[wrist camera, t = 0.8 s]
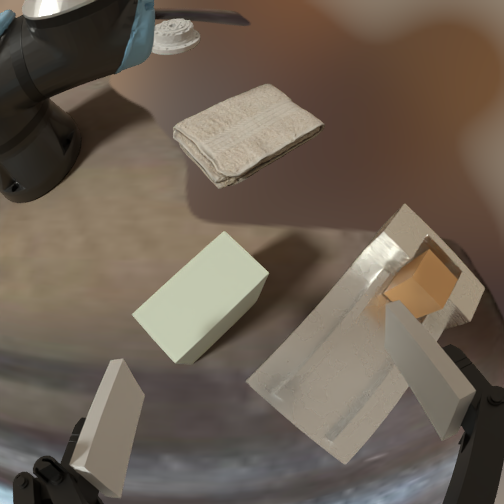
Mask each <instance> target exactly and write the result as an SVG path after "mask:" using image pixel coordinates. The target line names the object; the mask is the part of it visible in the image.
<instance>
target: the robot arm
mask: <svg viewBox="0 0 504 504" xmlns="http://www.w3.org/2000/svg"><path fill="white" fill-rule="evenodd" d="M153 6H154V0H25V1H24V4H23V6H22V13H23V15H22V16H20V17H18V18H15V16H16V15H15V13H14V12H13V11H12V10H6V11H4V12H2V13H0V192H1V193H2V194H3V195H4V196H5V197H6V198H7V199H8V200H10V201H12V202H16V203H23V202H28V201H32V200H34V199H36V198H39V197H40V196H42V195H44V194H45V193H47V192H48V191H50V190H51V189H52V188H53V187H55V186H56V185H57V184H58V183H59V182H60V181H61V180H62V179H63V178H64V176H65V175H66V174H67V173H68V171H69V170H70V169H71V167H72V166H73V164H74V162H75V160H76V158H77V156H78V154H79V151H80V147H81V134H80V131H79V129H78V127H77V125H76V123H75V121H74V120H73V119H72V117H71V116H69V115H68V114H67V113H66V112H65V111H63V110H62V109H61V108H60V107H59V106H57V105H56V104H55V103H54V102H53V101H51V100H50V97H52V96H54V95H57V94H59V93H61V92H64V91H66V90H69V89H71V88H74V87H77V86H79V85H82V84H85V83H88V82H90V81H93V80H96V79H99V78H102V77H105V76H108V75H112V74H117V73H119V72H121V71H122V70H124V69H127V68H130V67H133V66H136V65H139V64H141V63H143V62H144V61H145V60H146V59H147V58H148V57H149V56H150V54H151V52H152V48H153V42H154V30H155V10H154V7H153ZM384 347H385V349H386V350H387V352H388V353H389V355H390V356H391V358H392V360H393V361H394V363H395V364H396V366H397V367H398V369H399V371H400V372H401V374H402V375H403V377H404V378H405V380H406V382H407V383H408V385H409V386H410V388H411V390H412V391H413V393H414V395H415V396H416V398H417V399H418V401H419V403H420V404H421V406H422V408H423V409H424V411H425V413H426V414H427V416H428V418H429V420H430V421H431V423H432V425H433V426H434V428H435V430H436V431H437V433H438V435H439V437H440V438H441V440H442V441H443V440H445V439H447V438H449V437H451V436H453V435H455V434H457V433H458V430H459V428H460V426H462V427H463V429H464V430H465V432H464V434H463V436H462V438H461V439H460V441H459V444H461V446H460V450H459V454H458V458H457V461H456V465H455V468H454V471H453V475H452V478H451V481H450V484H449V487H448V490H447V493H446V496H445V498H444V501H443V504H494V502H495V498H496V494H497V490H498V486H499V481H500V476H501V471H502V466H503V461H504V388H502V387H499V386H492V385H491V384H490V383H489V382H488V381H487V380H486V379H485V377H484V376H483V375H482V374H481V373H480V371H479V370H478V369H477V368H476V367H475V366H474V364H472V362H471V361H470V360H469V359H468V358H467V356H466V355H465V354H464V353H463V352H462V351H461V350H460V349H459V348H457V347H455V346H453V345H451V344H450V345H447V346H445V347H443V348H441V347H440V345H439V344H438V343H437V342H436V341H435V340H434V338H433V337H432V336H431V335H430V334H429V333H428V331H427V330H426V329H425V328H424V327H423V326H422V325H421V323H420V322H419V321H418V320H417V319H416V318H415V317H414V316H413V314H412V313H411V312H410V311H409V310H408V309H407V308H406V307H405V306H404V304H403V303H402V302H401V301H400V300H397V301H394V302H391V303H387V304H386V317H385V344H384ZM144 396H145V395H144V394H143V392H142V390H141V389H140V387H139V385H138V384H137V382H136V380H135V378H134V377H133V375H132V373H131V372H130V370H129V368H128V366H127V364H126V363H125V361H124V359H116V360H111V361H110V363H109V365H108V368H107V370H106V372H105V375H104V377H103V379H102V381H101V384H100V386H99V389H98V391H97V393H96V396H95V398H94V401H93V403H92V405H91V408H90V410H89V413H88V415H87V418H81V419H80V420H79V421H78V423H77V424H76V425H75V427H74V430H73V432H72V436H71V437H70V440H69V442H68V445H67V448H66V450H65V453H64V456H63V458H62V461H61V464H59V463H58V462H57V461H56V460H55V459H54V458H53V457H51V456H43V457H41V458H39V459H38V460H37V461H36V463H35V464H34V467H33V473H34V474H35V475H36V476H37V477H38V478H34V477H33V476H32V475H31V474H30V473H28V472H21V473H19V474H18V475H17V476H16V477H15V479H14V482H13V503H14V504H103V502H102V500H101V499H100V498H99V497H98V493H99V491H100V492H101V493H103V494H104V495H105V496H107V497H114V498H121V495H122V490H123V485H124V480H125V476H126V471H127V466H128V462H129V457H130V453H131V449H132V444H133V440H134V436H135V432H136V428H137V424H138V420H139V416H140V412H141V408H142V404H143V400H144Z"/></svg>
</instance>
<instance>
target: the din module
mask: <svg viewBox="0 0 504 504" xmlns="http://www.w3.org/2000/svg"><path fill="white" fill-rule="evenodd" d="M268 274H269V272H268V271H267V270H266V269H265V268H264V267H262V266H261V265H260V264H259V263H258V262H257V261H256V260H255V259H254V258H253V257H252V256H251V255H250V254H249V253H248V252H246V251H245V250H244V249H243V248H242V247H241V246H240V245H239V244H238V243H237V242H236V241H235V240H234V239H233V238H232V237H231V236H229V235H228V234H227V233H226V232H225V231H224V232H222V233H221V234H220V235H219V236H218V237H217V238H216V239H214V240H213V241H212V242H211V243H210V244H209V245H208V246H207V247H205V248H204V249H203V250H202V251H201V252H200V253H199V254H198V255H196V256H195V257H194V258H193V259H192V260H191V261H190V262H189V263H187V264H186V265H185V266H184V267H183V268H182V269H181V270H180V271H179V272H178V273H176V274H175V275H174V276H173V277H172V278H171V279H170V280H169V281H168V282H167V283H165V284H164V285H163V286H162V287H161V288H160V289H159V290H158V291H157V292H156V293H154V294H153V295H152V296H151V297H150V298H149V299H148V300H147V301H146V302H145V303H144V304H143V305H142V306H140V307H139V308H138V309H137V310H136V311H135V312H134V313H133V314H132V315H133V316H134V317H135V319H136V320H137V321H138V322H139V323H140V325H141V326H142V327H143V328H144V329H145V330H146V332H147V333H148V334H149V335H150V336H151V337H152V338H153V339H154V341H155V342H156V343H157V344H158V345H159V346H160V347H161V348H162V349H163V351H164V352H165V353H166V354H167V355H168V356H169V357H170V358H171V359H172V360H173V361H174V362H175V363H179V364H193V363H194V362H195V361H196V360H197V359H198V358H199V357H201V356H202V355H203V354H204V353H205V352H206V351H207V350H208V349H209V348H210V347H211V346H212V345H213V344H214V343H215V342H216V341H217V340H218V339H219V338H220V337H221V336H222V335H223V334H224V333H225V332H227V331H228V330H229V329H230V328H231V327H232V326H233V325H234V324H235V323H236V322H237V321H238V320H239V319H240V318H241V317H242V316H243V315H244V314H245V313H246V312H247V311H248V310H249V309H250V308H251V307H252V306H253V305H254V304H255V303H256V302H257V299H258V297H259V295H260V293H261V290H262V288H263V286H264V284H265V281H266V279H267V277H268Z"/></svg>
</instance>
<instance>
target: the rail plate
mask: <svg viewBox="0 0 504 504" xmlns="http://www.w3.org/2000/svg"><path fill="white" fill-rule="evenodd" d="M428 249H430V250H431V251H432V252H433V253H434V254H435V255H436V256H437V258H438V259H439V260H440V261H441V262H442V263H443V264H444V265H445V266H446V267H447V268H448V269H449V270H450V271H451V272H452V274H453V275H454V276H455V277H456V278H457V279H458V280H457V282H456V284H455V286H454V288H453V290H452V292H451V294H450V296H449V298H448V300H447V302H446V304H445V305H444V307H443V309H441V310H438V311H436V312H433V313H430V314H427V315H425V316H422V317H419V318H416V319H417V320H418V321H419V322H420V323H421V325H422V326H423V327H424V328H425V329H426V330H427V331H428V333H429V334H430V335H431V336H432V337H433V338H434V340H435V341H436V342H437V340H438V339H439V337H440V335H441V333H442V332H443V330H444V329H448V328H451V327H455V326H458V325H462V324H465V323H468V322H470V321H471V319H472V317H473V315H474V313H475V310H476V308H477V306H478V304H479V301H480V299H481V297H482V294H483V292H484V289H485V288H484V286H483V285H482V284H481V283H480V282H479V280H478V279H477V278H476V277H475V276H474V275H473V273H472V272H471V271H470V270H469V269H468V268H467V266H466V265H465V264H464V263H463V262H462V261H461V260H460V259H459V258H458V256H457V255H456V254H455V253H454V252H453V251H452V250H451V249H450V248H449V247H448V246H447V245H446V244H445V242H444V241H443V240H442V239H441V238H440V237H439V236H438V235H437V234H436V233H435V232H434V231H433V230H432V229H431V228H430V227H429V226H428V225H427V224H426V223H424V221H423V220H422V219H421V218H420V217H419V216H418V215H417V214H416V213H415V212H414V211H413V210H411V209H410V208H409V207H408V206H407V205H406V204H404V205H402V207H401V208H400V209H399V210H398V211H397V212H396V213H395V214H394V215H393V216H392V217H391V218H390V219H389V220H388V221H387V222H386V223H385V224H384V225H383V226H382V228H381V229H380V230H379V231H378V233H377V234H376V235H375V236H374V238H373V239H372V240H371V242H370V243H369V244H368V245H367V247H366V248H365V249H364V250H363V252H362V253H361V254H360V255H359V256H358V258H357V259H356V260H355V261H354V263H353V264H352V265H351V266H350V267H349V269H348V270H347V271H346V272H345V273H344V275H343V276H342V277H341V278H340V279H339V280H338V282H337V283H336V284H335V285H334V286H333V287H332V289H331V290H330V291H329V292H328V293H327V294H326V296H325V297H324V298H323V299H322V300H321V301H320V302H319V304H318V305H317V306H316V307H315V308H314V309H313V310H312V311H311V313H310V314H309V315H308V316H307V317H306V318H305V319H304V320H303V321H302V322H301V324H300V325H299V326H298V327H297V328H296V329H295V330H294V331H293V332H292V333H291V334H290V335H289V337H288V338H287V339H286V340H285V341H284V342H283V343H282V344H281V345H280V346H279V347H278V348H277V349H276V350H275V351H274V352H273V353H272V354H271V355H270V356H269V357H268V359H267V360H266V361H265V362H264V363H263V364H262V365H261V366H260V367H259V368H258V369H257V370H256V371H255V372H254V373H253V374H252V375H251V376H250V377H249V378H248V379H247V380H246V381H245V382H246V383H248V384H249V385H250V386H251V387H252V388H253V389H254V390H255V391H256V392H257V393H258V394H260V395H261V396H262V397H263V398H264V399H265V400H266V401H267V402H269V403H270V404H271V405H272V406H273V407H274V408H275V409H276V410H278V411H279V412H280V413H281V414H282V415H283V416H285V417H286V418H287V419H288V420H289V421H290V422H292V423H293V424H294V425H295V426H296V427H298V428H299V429H300V430H301V431H302V432H304V433H305V434H306V435H307V436H309V437H310V438H311V439H312V440H313V441H315V442H316V443H317V444H319V445H320V446H321V447H322V448H324V449H325V450H326V451H327V452H329V453H330V454H331V455H333V456H334V457H335V458H337V459H338V460H339V461H341V462H342V463H343V464H345V465H346V464H347V462H348V461H349V460H350V459H351V458H352V457H353V456H354V455H355V454H356V453H357V451H358V450H359V449H360V448H361V447H362V446H363V445H364V443H365V442H366V441H367V440H368V439H369V438H370V436H371V435H372V434H373V433H374V432H375V430H376V429H377V428H378V427H379V425H380V424H381V423H382V422H383V420H384V419H385V418H386V417H387V415H388V414H389V413H390V411H391V410H392V409H393V407H394V406H395V405H396V403H397V402H398V401H399V399H400V398H401V396H402V395H403V394H404V392H405V391H406V389H407V388H408V386H409V385H408V383H407V382H406V380H405V378H404V377H403V375H402V374H401V372H400V371H399V369H398V367H397V366H396V364H395V363H394V361H393V360H392V358H391V356H390V355H389V353H388V352H387V350H386V349H385V347H384V344H385V317H386V304H387V303H391V302H392V301H391V300H390V299H389V298H388V297H387V296H386V295H385V294H384V292H385V290H386V289H387V288H388V286H389V285H390V283H391V282H392V280H393V279H394V278H395V276H396V275H397V273H398V272H399V270H400V269H401V268H402V267H403V266H405V265H406V264H408V263H409V262H411V261H412V260H414V259H415V258H417V257H418V256H420V255H421V254H423V253H424V252H425V251H427V250H428Z"/></svg>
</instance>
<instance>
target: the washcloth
mask: <svg viewBox="0 0 504 504" xmlns="http://www.w3.org/2000/svg"><path fill="white" fill-rule="evenodd" d="M324 127H325V124H324V123H322V122H321V121H320V120H319V119H317V118H316V117H314V116H313V115H312V114H311V113H309V112H308V111H306V110H304V109H302V108H300V107H299V106H298V105H296V104H295V103H293V102H292V100H291V99H290V98H289V97H287V96H286V95H285V94H284V93H283V92H281V91H280V90H278V89H277V88H275V87H274V86H273V85H271V84H264V85H261V86H258V87H256V88H254V89H251V90H250V91H247V92H244V93H242V94H239V95H237V96H234V97H231V98H229V99H226V100H225V101H223V102H220V103H219V104H217V105H214V106H212V107H210V108H208V109H207V110H204V111H202V112H200V113H198V114H197V115H194V116H191V117H189V118H187V119H185V120H183V121H182V122H180V123H177V125H176V126H174V127H173V130H174V133H173V138H174V139H175V140H177V141H178V142H179V144H180V147H181V148H182V150H183V151H184V152H185V153H186V155H187V156H188V157H189V158H190V159H191V160H192V161H193V162H194V163H195V164H196V165H197V166H199V168H200V169H201V170H202V171H203V172H204V174H205V175H206V176H207V177H208V178H209V179H210V180H211V181H212V182H213V183H214V185H215V186H217V188H219V189H222V188H223V187H226V186H232V185H235V184H238V183H240V182H242V181H244V180H246V179H247V178H249V177H250V176H252V175H254V174H255V173H256V172H258V171H259V170H260V169H262V168H264V167H266V166H267V165H269V164H271V163H273V162H274V161H276V160H278V159H280V158H281V157H283V156H284V155H286V154H287V153H289V152H291V151H292V150H294V149H296V148H297V147H299V146H301V145H303V144H304V143H306V142H308V141H309V140H311V139H313V138H314V137H316V136H317V135H318V134H320V132H322V131H323V129H324Z"/></svg>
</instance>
